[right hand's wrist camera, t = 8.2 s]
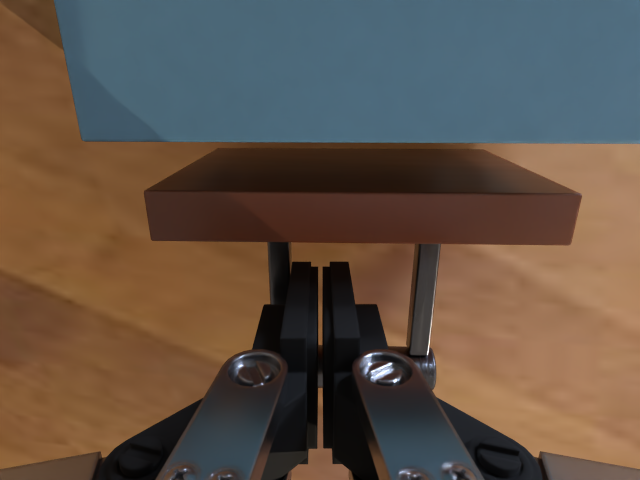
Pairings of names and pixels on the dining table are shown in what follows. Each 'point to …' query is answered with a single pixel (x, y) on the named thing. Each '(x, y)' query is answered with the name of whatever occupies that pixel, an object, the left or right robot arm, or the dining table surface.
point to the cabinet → (354, 70)
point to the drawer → (363, 210)
